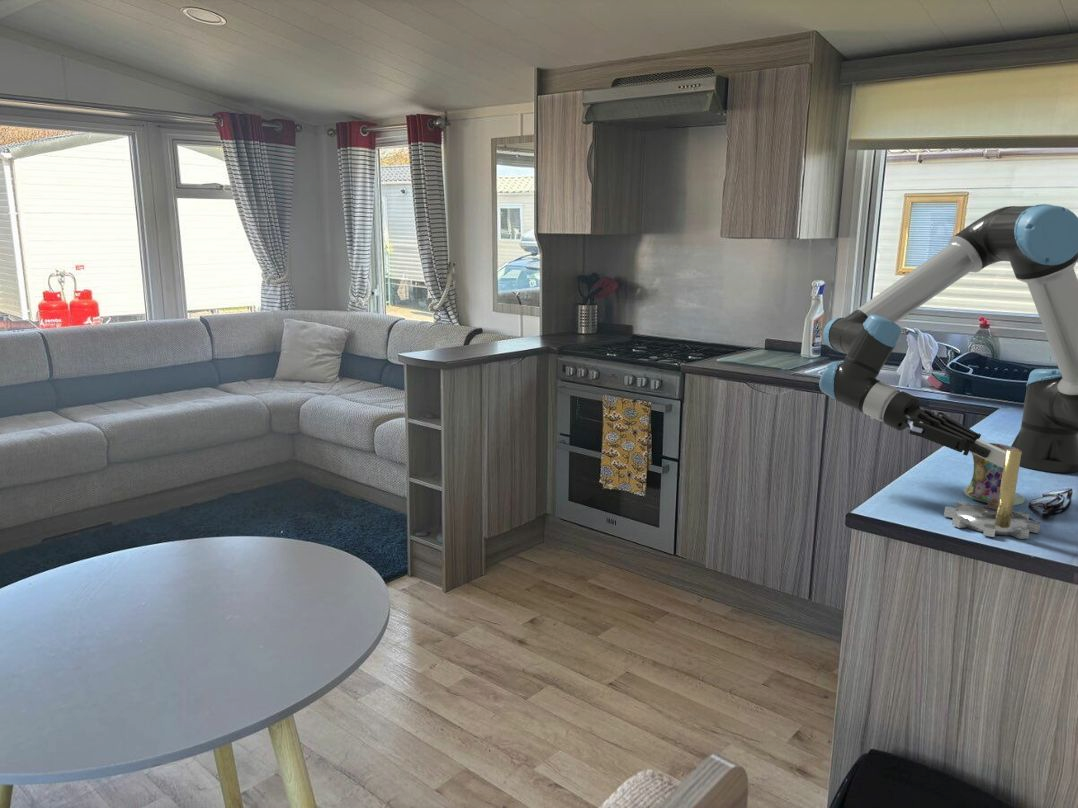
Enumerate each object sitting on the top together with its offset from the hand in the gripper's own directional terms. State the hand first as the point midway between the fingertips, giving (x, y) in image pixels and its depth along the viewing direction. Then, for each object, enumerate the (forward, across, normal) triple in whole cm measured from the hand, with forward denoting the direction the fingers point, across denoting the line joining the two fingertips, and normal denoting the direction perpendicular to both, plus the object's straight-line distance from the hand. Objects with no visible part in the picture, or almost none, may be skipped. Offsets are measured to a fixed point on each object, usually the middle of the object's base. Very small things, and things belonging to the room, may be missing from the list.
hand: (1008, 461), depth 149 cm
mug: (-4, -14, -14) cm, 20 cm away
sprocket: (+2, +2, -12) cm, 12 cm away
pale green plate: (-3, -16, -14) cm, 22 cm away
